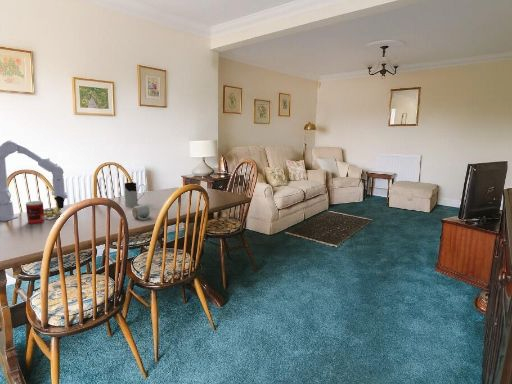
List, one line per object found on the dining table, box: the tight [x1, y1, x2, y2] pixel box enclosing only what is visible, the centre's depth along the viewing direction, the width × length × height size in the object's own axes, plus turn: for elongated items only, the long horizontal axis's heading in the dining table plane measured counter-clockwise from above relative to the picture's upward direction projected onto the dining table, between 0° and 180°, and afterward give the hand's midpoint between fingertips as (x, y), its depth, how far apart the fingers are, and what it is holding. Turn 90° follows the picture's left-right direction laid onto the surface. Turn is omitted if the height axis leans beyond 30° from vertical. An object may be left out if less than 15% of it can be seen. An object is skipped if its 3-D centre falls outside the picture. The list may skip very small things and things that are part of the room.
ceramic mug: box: [131, 203, 150, 221], centre depth 190 cm, size 11×8×8 cm
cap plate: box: [44, 207, 64, 221], centre depth 188 cm, size 14×14×4 cm
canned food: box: [25, 200, 45, 225], centre depth 175 cm, size 8×8×11 cm
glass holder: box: [123, 181, 146, 208], centre depth 219 cm, size 9×14×15 cm, turn 127°
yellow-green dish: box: [43, 201, 62, 216], centre depth 189 cm, size 13×10×5 cm
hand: (60, 208), depth 194 cm, fingers closed, pressing on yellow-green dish
